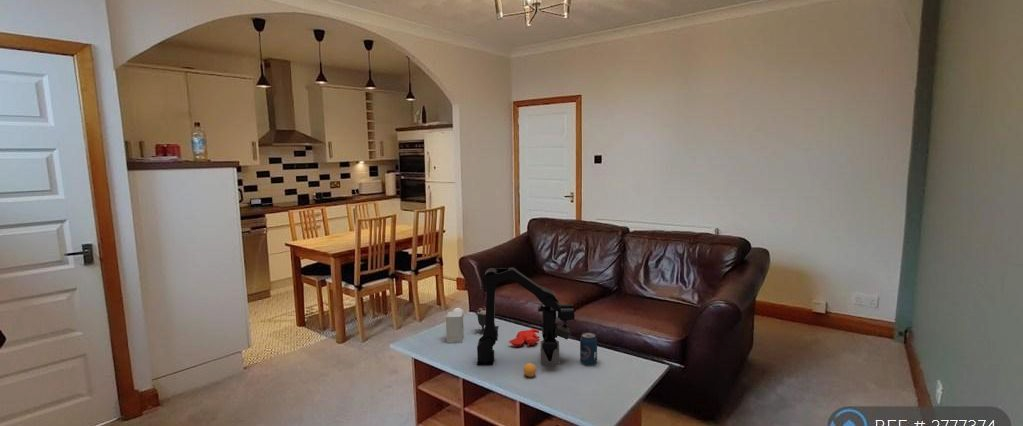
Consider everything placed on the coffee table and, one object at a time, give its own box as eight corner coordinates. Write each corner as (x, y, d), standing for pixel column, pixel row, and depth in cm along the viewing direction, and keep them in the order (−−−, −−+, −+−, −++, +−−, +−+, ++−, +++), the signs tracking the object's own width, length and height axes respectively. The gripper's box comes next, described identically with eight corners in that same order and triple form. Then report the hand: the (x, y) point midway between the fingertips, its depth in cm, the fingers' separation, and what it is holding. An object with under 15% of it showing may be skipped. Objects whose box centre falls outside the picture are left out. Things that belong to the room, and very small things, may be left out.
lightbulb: (459, 332, 235) (458, 310, 233) (449, 330, 238) (448, 308, 237) (467, 328, 240) (466, 307, 239) (457, 326, 244) (456, 305, 242)
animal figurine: (505, 346, 218) (504, 336, 218) (525, 335, 230) (525, 325, 229) (525, 353, 211) (524, 342, 210) (545, 341, 222) (545, 331, 221)
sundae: (488, 335, 231) (487, 305, 229) (474, 334, 232) (473, 304, 230) (491, 330, 237) (490, 300, 235) (478, 329, 238) (477, 300, 236)
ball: (523, 378, 187) (522, 366, 186) (523, 372, 192) (523, 360, 191) (536, 378, 187) (535, 366, 186) (536, 372, 192) (536, 361, 191)
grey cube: (540, 365, 198) (540, 348, 197) (540, 357, 206) (540, 340, 205) (559, 365, 198) (559, 348, 197) (558, 357, 205) (558, 340, 204)
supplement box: (462, 342, 223) (461, 316, 221) (446, 343, 223) (445, 317, 221) (464, 336, 230) (463, 311, 228) (448, 336, 230) (447, 311, 228)
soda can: (576, 363, 199) (576, 335, 198) (586, 357, 204) (586, 330, 203) (591, 368, 195) (590, 339, 193) (600, 362, 200) (600, 334, 198)
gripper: (570, 329, 189) (570, 366, 192) (567, 312, 208) (568, 347, 210) (541, 329, 190) (542, 366, 192) (541, 313, 209) (542, 347, 211)
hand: (549, 356), depth 201 cm, fingers closed on grey cube, 8 cm apart
